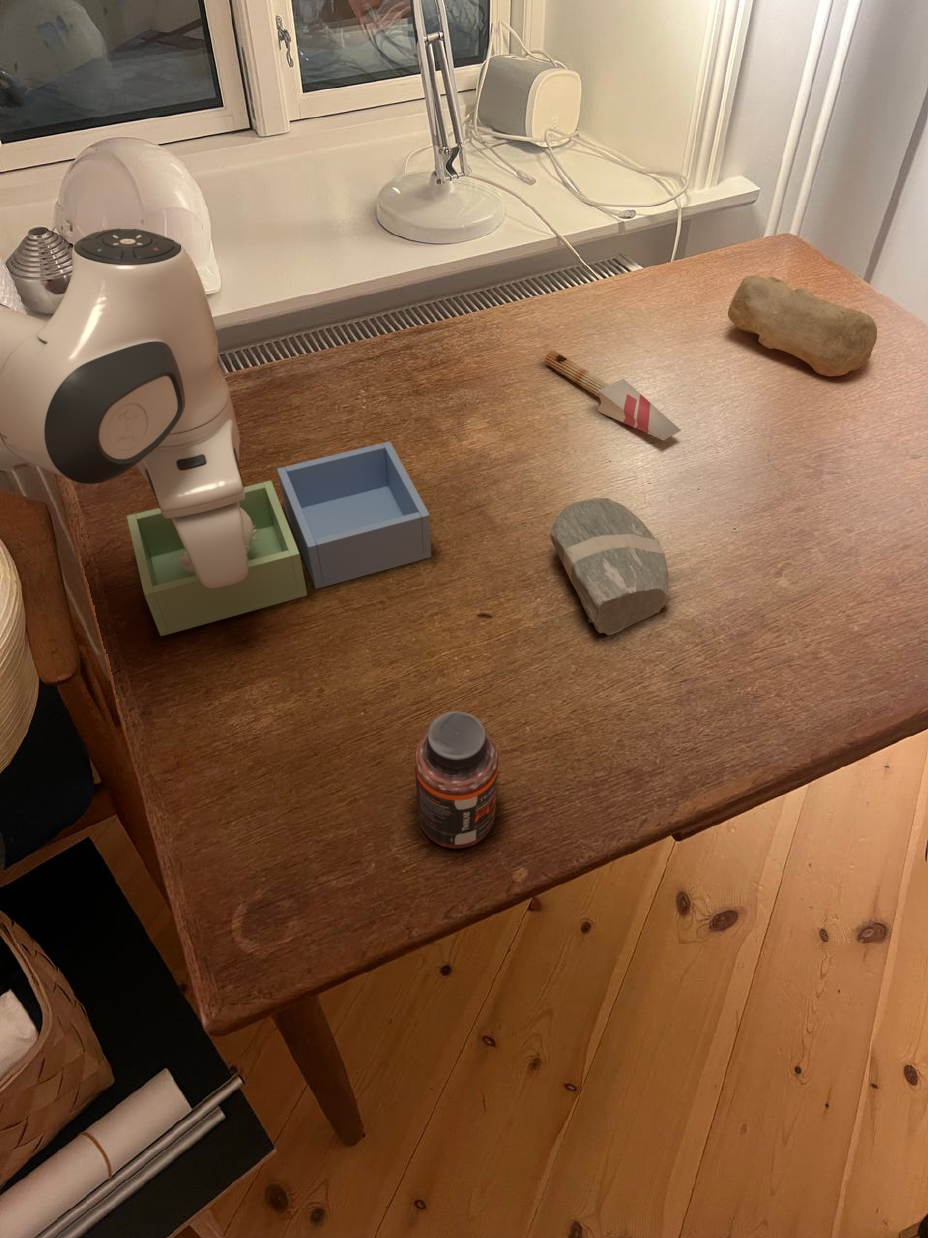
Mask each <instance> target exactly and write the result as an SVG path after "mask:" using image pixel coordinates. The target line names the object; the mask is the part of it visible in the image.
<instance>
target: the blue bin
mask: <svg viewBox="0 0 928 1238" xmlns="http://www.w3.org/2000/svg"><path fill="white" fill-rule="evenodd" d="M276 472H277V478H278V482H279V487H280V491H281V493H280V494H281V498H282V502H283V508H284V513H285V516H286V517H287V519H288V520H287V521H288V522H289V526H290V529H291V530H292V532H293V533H292V534H293V535H294V537H295V541H296V544H297V545H298V546H297V547H298V548H299V551H300V554H301V556H302V558H303V561H304V563H305V566H306V568H307V571H308V573H309V576H310V579H311V581H312V584H313V587H314V589H315V590H318V589H321V588H325V587H328V586H332V585H336V584H339V583H343V582H347V581H351V580H354V579H358V578H361V577H364V576H365V577H366V576H369V575H373V574H375V573H379V572H383V571H387V570H390V569H393V568H397V567H400V566H404V565H409V564H412V563H416V562H418V561H422V560H426V559H429V558H432V541H431V540H432V539H431V514H430V512H429V511H428V509H427V507H426V505H425V503H424V502H423V499H422V498H421V496H420V494H419V492H418V490H417V489H416V487H415V485H414V482H413V481H412V480H411V477H410V476H409V473H408V472H407V470H406V468H405V466H404V465H403V463H402V460H401V459H400V456H399V455H398V453H397V451H396V450H395V447H394V446H393V444H392V442H391V441H390V440H389V441H386V442H381V443H377V444H373V445H369V446H364V447H360V448H356V449H352V450H348V451H343V452H340V453H336V454H332V455H327V456H324V457H319V458H315V459H311V460H306V461H302V462H298V463H295V464H291V465H286V466H283V467H279V468H276Z"/></svg>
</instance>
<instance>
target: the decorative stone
mask: <svg viewBox="0 0 928 1238" xmlns="http://www.w3.org/2000/svg"><path fill="white" fill-rule="evenodd" d="M549 538H550V540H551V542H552V546H553V547H554V548H555V550H556V554H557V556H558V558H559V560H560V561H561V563H562V565H563V568H564V570H565V572H566V573H567V576H568V578H569V580H570V583H571V584H572V585H573V588H574V590H575V592H576V593H577V595H578V598H579V600H580V603H581V605H582V607H583V609H584V611H585V613H586V618H587V621H588V622H589V623H591V624H593V625H594V628H595V630H596V631H597V632H598V633H599V634H605V635H606V636H613V635H615V634H616V633H619V632H621V631H623V630H624V629H626V628H629V627H631V626H633V625H634V624H637V623H639V622H642V621H644V620H646V619H649V618H651V617H652V616H655V614H658V613H660V612H661V610H662V609H663V608H664V607H666V604H667V603H668V600H669V587H668V578H669V569H668V566H667V559H666V554H665V551H664V549H663V547H662V544H661V542H660V539H659V538H658V537H657V538H656V537H655V536H654V535H653V533H652V531H650V529H648V527H647V525H646V524H645V523H644V522H643V521H642V520H641V519H640V518H639V517H638V516H637V515H636V514H635V513H634V512H632V511H631V510H629V509H628V508H627V507H626V506H625V505H623V504H621V503H620V502H617V501H614V500H611V499H610V498H608V497H599V498H591V499H585V500H581V501H577V502H576V501H575V502H573V503H571V504H569V505H567V506H565V507H564V508H563V509H562V510H561V511H560V513H559V515H558V516H557V517H556V518H555V520H554V522H553V524H552V525H551V528H550V533H549Z"/></svg>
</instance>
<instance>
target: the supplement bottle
mask: <svg viewBox="0 0 928 1238" xmlns="http://www.w3.org/2000/svg"><path fill="white" fill-rule="evenodd" d="M498 751H499V750H498V747H497V745H496V743H495V741H494V740H493V739H492V737H491V735H489V734H488V732H486V730H485V727H484V725H483V723H482V721H481V720H480V719H479V718H477V716H475V715H473V714H471V713H469V712H465V711H461V710H460V711H458V710H453V711H448V712H445V713H442V714H440V715H439V716H437V717H435V718H434V720H433V721H432V722H431V723H430V725H429V727H428V730H427V732H426V733H425V734H424V735H423V736H422V737H421V739H420V740H419V742H418V744H417V746H416V750H415V755H414V773H415V786H416V788H415V789H416V805H417V814H418V815H417V816H418V821H419V825H420V828H421V829H422V831H423V832H424V834H425V835H426V837H428V838H429V839H430V840H431V841H432V842H434V843H435V844H437V845H439V846H441V847H444V848H446V849H464V848H469V847H472V846H474V845H477V844H478V843H480V842H481V841H482V840H483V839H484V838H486V837H487V835H488V834H489V833H490V831H491V829H492V827H493V826H494V823H495V819H496V812H497V791H498V777H499V776H498V775H499V752H498Z"/></svg>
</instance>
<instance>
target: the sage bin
mask: <svg viewBox="0 0 928 1238" xmlns="http://www.w3.org/2000/svg"><path fill="white" fill-rule="evenodd" d="M244 492H245V499H244V500H242V501H239V505H240V508H242V509H243V510H244V511H245V512H246V513H247V515H248V516H249V517H250V518H251V521H252V522H253V523H252V525H253V526H255V525H256V526H255V527H254V528H253V530H255V529H259V530H258V531H257V532H256V533H255V534H254V536H253V537H255V538H258V539H259V540H255V541H252V544H251V548H250V550H249V552H248V554H247V557H248V576H247V578H246V580H245V581H243V582H240V583H237V584H234V585H231V586H228V587H224V588H219V589H214V590H209V589H206V588H205V587H204V586H203V585H202V583H201V582H200V580H199V578H198V576H197V575H193V576H191V575H190V574H188V573H186V572H185V571H184V569H183V567H182V562H181V561H180V560H179V559H178V558H180V557H183V555H184V553H185V552H186V550H185V548H184V546H183V544H182V542H181V539H180V537H179V535H178V533H177V530H176V528H175V526H174V523H173V521H172V519H171V518H170V519H166V518H164V517H163V515H162V512H161V509H160V508H159V507H157V508H153V509H149V510H145V511H141V512H137V513H133V514H129V515H126V519H127V523H128V528H129V533H130V537H131V541H132V542H131V543H132V546H133V551H134V555H135V561H136V564H137V568H138V573H139V577H140V581H141V586H142V591H143V595H144V598H145V601H146V603H147V606H148V609H149V611H150V613H151V616H152V618H153V621H154V623H155V626H156V629H157V631H158V634H159V636H160V637H164V636H168V635H171V634H174V633H178V632H181V631H185V630H188V629H193V628H196V627H200V626H203V625H207V624H210V623H214V622H217V621H221V620H225V619H229V618H232V617H235V616H239V615H243V614H245V613H249V612H253V611H257V610H261V609H264V608H269V607H271V606H275V605H278V604H282V603H286V602H289V601H293V600H296V599H301V598H304V597H307V596H308V591H307V586H306V580H305V576H304V570H303V565H302V559H301V553H300V552H299V551H300V550H299V549H298V548H299V547H298V546H297V542H296V540H295V539H294V536H293V533H292V531H291V530H292V529H291V527H290V524H289V523H288V520H287V518H286V517H287V516H286V514H285V511H284V510H283V507H282V505H281V502H280V500H279V498H278V495H277V492H276V488H275V486H274V484H273V481H272V480H267V481H263V482H259V483H255V484H251V485H246V486H244Z"/></svg>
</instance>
